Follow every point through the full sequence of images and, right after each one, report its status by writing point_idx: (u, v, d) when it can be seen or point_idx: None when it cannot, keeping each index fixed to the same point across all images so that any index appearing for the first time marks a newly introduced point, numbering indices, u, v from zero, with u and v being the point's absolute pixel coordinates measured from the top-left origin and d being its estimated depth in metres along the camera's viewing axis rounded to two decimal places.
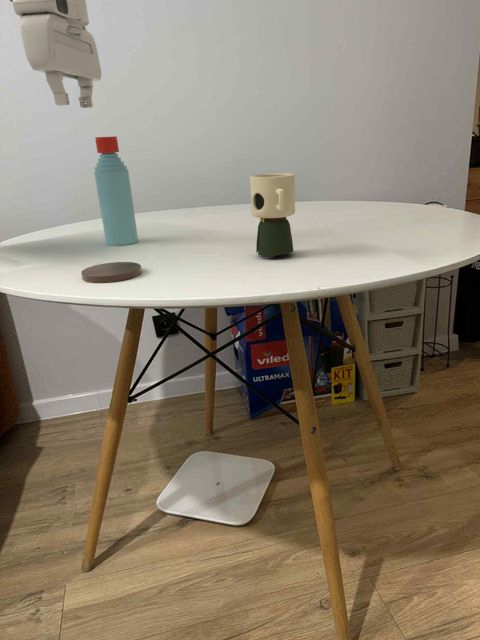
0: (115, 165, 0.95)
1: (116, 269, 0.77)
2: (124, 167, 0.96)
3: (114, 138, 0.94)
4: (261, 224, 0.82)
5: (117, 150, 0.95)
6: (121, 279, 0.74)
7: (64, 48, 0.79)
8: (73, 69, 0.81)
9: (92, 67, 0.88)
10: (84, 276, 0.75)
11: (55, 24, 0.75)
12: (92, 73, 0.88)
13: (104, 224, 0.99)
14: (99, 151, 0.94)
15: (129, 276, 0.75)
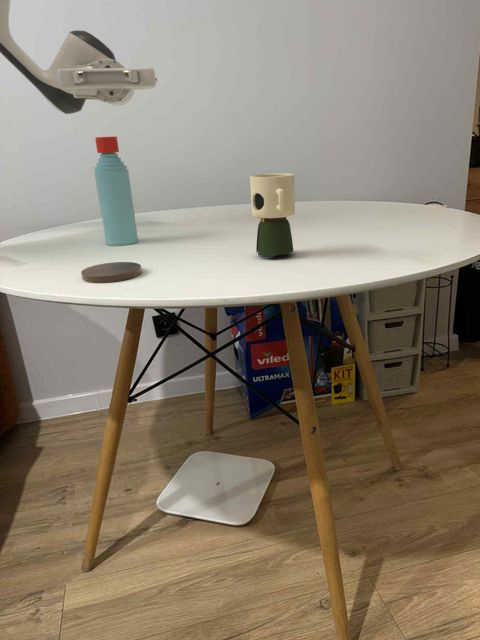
0: (115, 165, 0.95)
1: (116, 269, 0.77)
2: (124, 167, 0.96)
3: (114, 138, 0.94)
4: (261, 224, 0.82)
5: (117, 150, 0.95)
6: (121, 279, 0.74)
7: None
8: (94, 68, 1.05)
9: None
10: (84, 276, 0.75)
11: None
12: None
13: (104, 224, 0.99)
14: (99, 151, 0.94)
15: (129, 276, 0.75)
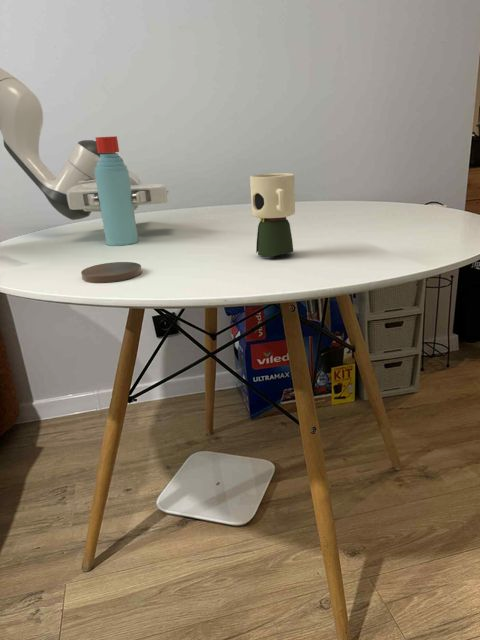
0: (115, 165, 0.95)
1: (116, 269, 0.77)
2: (124, 167, 0.96)
3: (114, 138, 0.94)
4: (261, 224, 0.82)
5: (117, 150, 0.95)
6: (121, 279, 0.74)
7: (96, 188, 1.04)
8: None
9: None
10: (84, 276, 0.75)
11: (84, 186, 1.06)
12: (141, 186, 1.03)
13: (104, 224, 0.99)
14: (99, 151, 0.94)
15: (129, 276, 0.75)
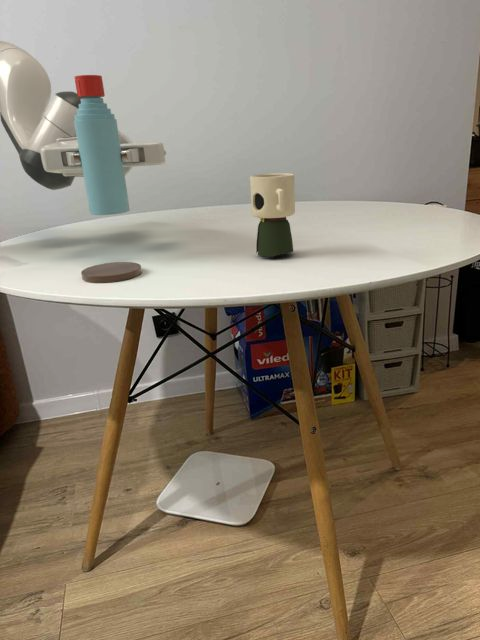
0: (100, 112, 0.76)
1: (116, 269, 0.77)
2: (111, 115, 0.77)
3: (98, 77, 0.75)
4: (261, 224, 0.82)
5: (102, 93, 0.76)
6: (121, 279, 0.74)
7: None
8: None
9: None
10: (84, 276, 0.75)
11: (63, 144, 0.87)
12: (133, 143, 0.84)
13: (87, 188, 0.80)
14: (80, 94, 0.75)
15: (129, 276, 0.75)
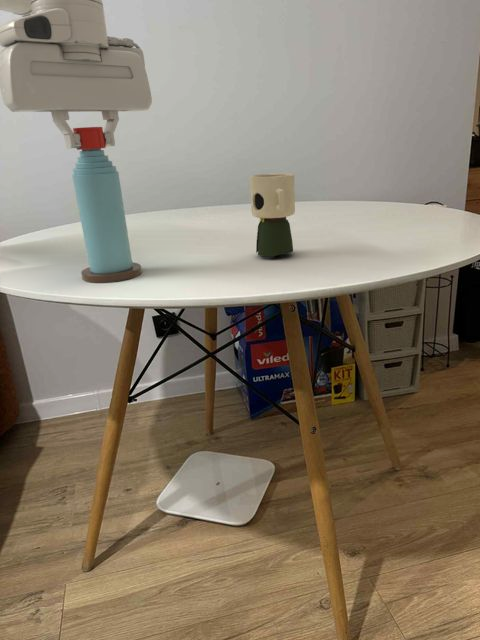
0: (100, 166, 0.70)
1: None
2: (113, 169, 0.71)
3: (99, 129, 0.69)
4: (261, 224, 0.82)
5: (103, 146, 0.70)
6: (121, 279, 0.74)
7: (55, 81, 0.64)
8: (74, 104, 0.66)
9: (127, 96, 0.71)
10: (84, 276, 0.75)
11: (30, 54, 0.61)
12: (124, 103, 0.71)
13: (87, 245, 0.74)
14: None
15: (129, 276, 0.75)
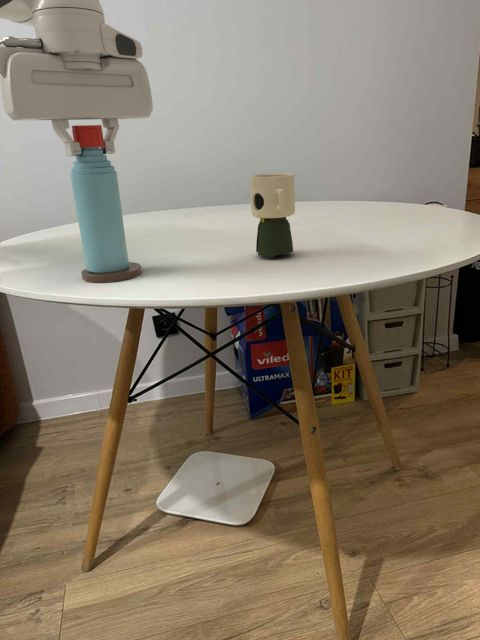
0: (99, 166, 0.70)
1: None
2: (111, 169, 0.71)
3: None
4: (261, 224, 0.82)
5: None
6: (121, 279, 0.74)
7: None
8: None
9: None
10: (84, 276, 0.75)
11: None
12: None
13: (83, 244, 0.74)
14: None
15: (129, 276, 0.75)
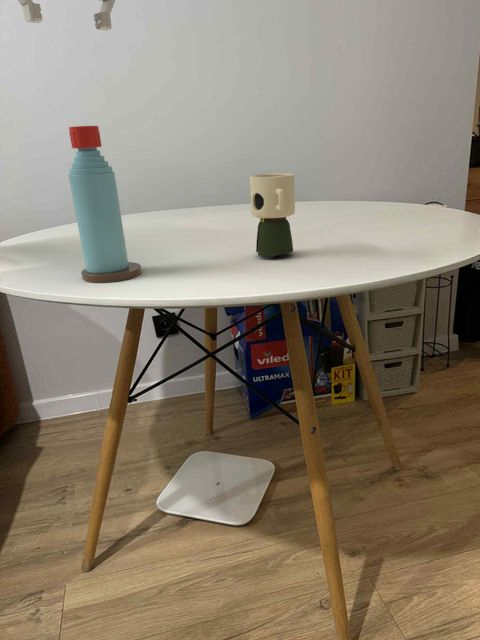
0: (96, 166, 0.70)
1: None
2: (109, 169, 0.71)
3: None
4: (261, 224, 0.82)
5: None
6: (121, 279, 0.74)
7: None
8: None
9: None
10: (84, 276, 0.75)
11: None
12: None
13: (83, 245, 0.74)
14: None
15: (129, 276, 0.75)
